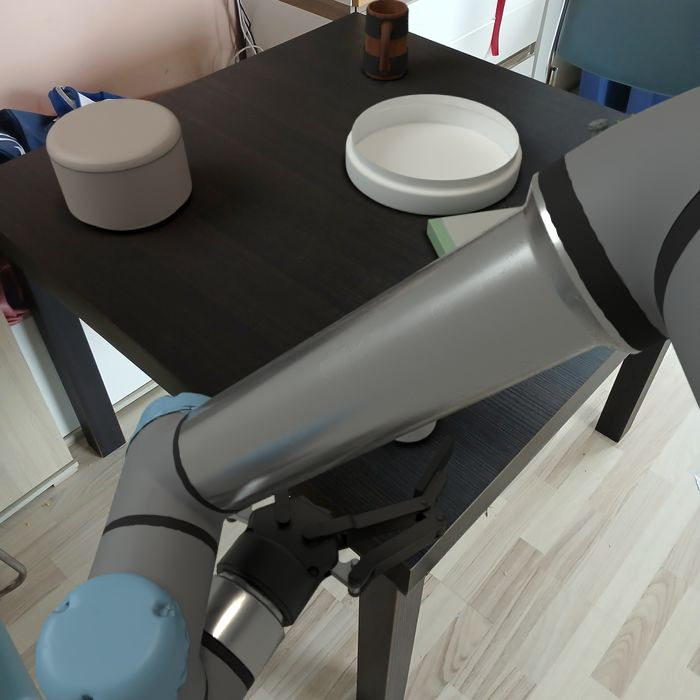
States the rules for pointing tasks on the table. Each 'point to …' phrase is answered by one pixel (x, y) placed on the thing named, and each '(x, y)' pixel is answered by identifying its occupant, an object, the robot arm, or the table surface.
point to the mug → (386, 39)
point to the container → (120, 163)
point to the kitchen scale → (461, 228)
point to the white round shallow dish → (433, 154)
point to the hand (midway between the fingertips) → (386, 413)
